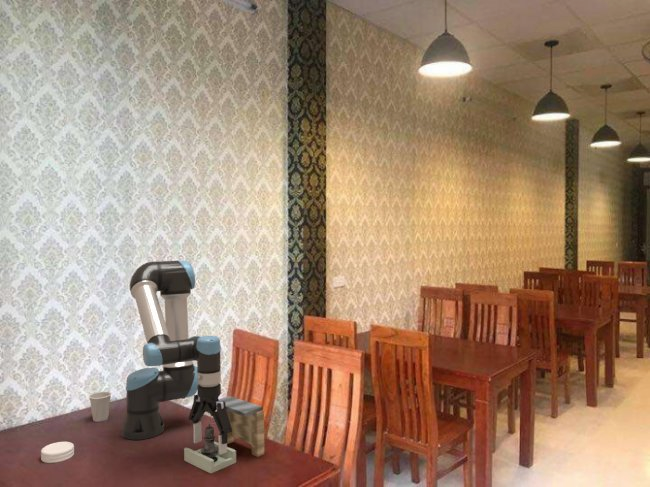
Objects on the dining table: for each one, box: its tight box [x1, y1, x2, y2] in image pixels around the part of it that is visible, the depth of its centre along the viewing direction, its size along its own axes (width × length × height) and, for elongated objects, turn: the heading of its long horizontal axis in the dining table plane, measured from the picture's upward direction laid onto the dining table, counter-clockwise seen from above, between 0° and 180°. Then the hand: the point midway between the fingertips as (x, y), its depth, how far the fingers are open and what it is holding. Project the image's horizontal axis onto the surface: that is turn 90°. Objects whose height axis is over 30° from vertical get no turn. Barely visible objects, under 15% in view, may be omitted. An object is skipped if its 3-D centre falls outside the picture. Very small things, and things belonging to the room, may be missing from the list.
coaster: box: [40, 441, 75, 464], centre depth 176 cm, size 10×10×4 cm
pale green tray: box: [183, 440, 237, 475], centre depth 171 cm, size 14×10×4 cm
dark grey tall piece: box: [200, 423, 219, 462], centre depth 171 cm, size 6×6×12 cm
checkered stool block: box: [218, 395, 265, 457], centre depth 180 cm, size 19×8×16 cm, turn 49°
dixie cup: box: [88, 391, 112, 423], centre depth 210 cm, size 8×8×10 cm
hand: (209, 447), depth 171 cm, fingers open, 13 cm apart
